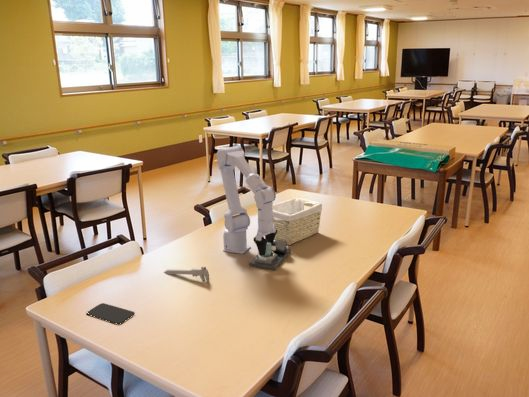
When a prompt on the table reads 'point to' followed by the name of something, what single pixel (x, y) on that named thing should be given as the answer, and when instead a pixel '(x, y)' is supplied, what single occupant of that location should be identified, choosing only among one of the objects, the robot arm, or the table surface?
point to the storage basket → (296, 219)
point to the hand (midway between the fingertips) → (265, 251)
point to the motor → (272, 256)
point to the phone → (111, 313)
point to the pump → (268, 249)
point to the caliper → (192, 273)
